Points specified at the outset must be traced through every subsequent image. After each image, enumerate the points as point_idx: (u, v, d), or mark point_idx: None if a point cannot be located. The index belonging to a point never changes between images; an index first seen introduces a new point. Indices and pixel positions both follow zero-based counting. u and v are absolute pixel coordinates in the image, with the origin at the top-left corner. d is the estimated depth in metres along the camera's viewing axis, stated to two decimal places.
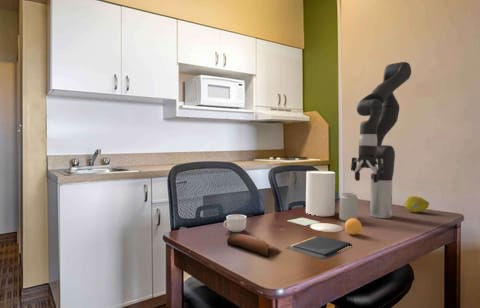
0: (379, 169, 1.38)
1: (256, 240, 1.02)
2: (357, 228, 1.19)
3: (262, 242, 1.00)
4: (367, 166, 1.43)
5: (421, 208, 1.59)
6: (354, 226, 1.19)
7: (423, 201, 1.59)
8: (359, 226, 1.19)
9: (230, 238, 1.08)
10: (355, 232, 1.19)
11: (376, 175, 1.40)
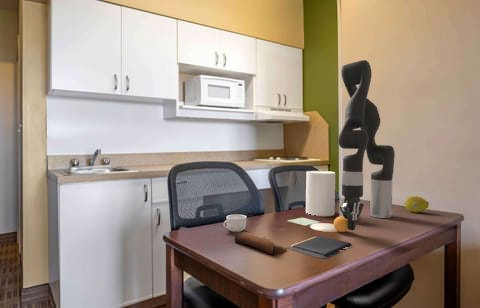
0: (358, 213, 1.23)
1: (262, 238, 1.03)
2: (341, 220, 1.23)
3: (268, 240, 1.01)
4: None
5: (421, 208, 1.59)
6: (338, 220, 1.23)
7: (423, 201, 1.59)
8: (342, 217, 1.24)
9: (237, 236, 1.10)
10: (344, 224, 1.22)
11: None
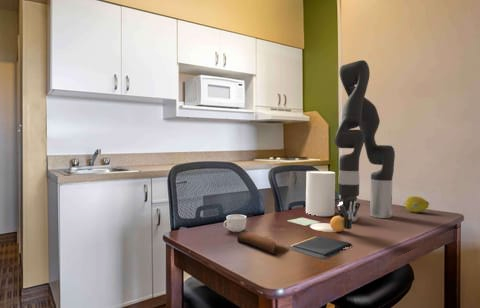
0: (354, 213, 1.24)
1: (264, 238, 1.04)
2: (337, 218, 1.24)
3: (270, 240, 1.02)
4: None
5: (421, 208, 1.59)
6: (333, 219, 1.25)
7: (423, 201, 1.59)
8: (337, 216, 1.25)
9: (240, 236, 1.11)
10: (340, 222, 1.23)
11: None
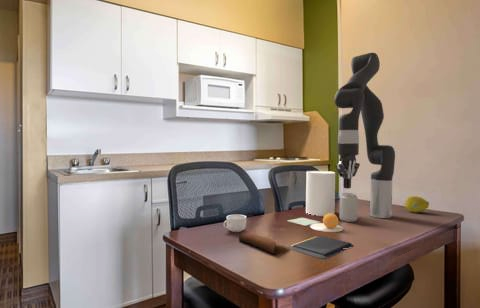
0: (354, 172, 1.24)
1: (265, 238, 1.04)
2: None
3: (270, 240, 1.02)
4: None
5: (421, 208, 1.59)
6: (323, 219, 1.31)
7: (423, 201, 1.59)
8: None
9: (241, 235, 1.11)
10: (326, 214, 1.31)
11: None
